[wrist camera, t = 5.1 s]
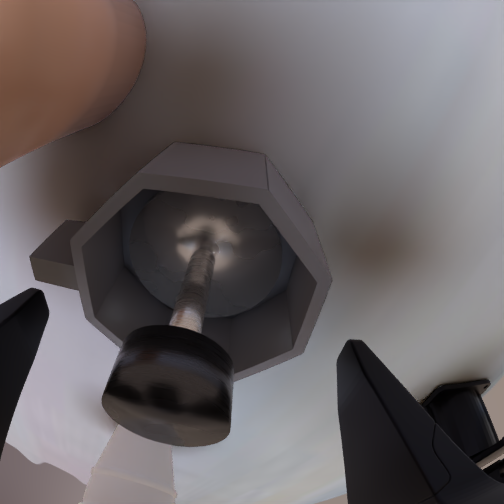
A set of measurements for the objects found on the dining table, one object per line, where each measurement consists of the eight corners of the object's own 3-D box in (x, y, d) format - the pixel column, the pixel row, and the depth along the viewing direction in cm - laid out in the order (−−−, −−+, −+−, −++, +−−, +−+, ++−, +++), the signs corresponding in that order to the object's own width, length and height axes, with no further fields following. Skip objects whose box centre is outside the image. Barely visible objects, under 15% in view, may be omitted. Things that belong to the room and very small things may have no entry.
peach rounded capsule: (160, -24, 7) (72, -94, 2) (136, 133, 10) (32, 196, 5) (28, 0, 6) (-81, -4, 1) (16, 132, 9) (-89, 186, 4)
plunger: (296, 193, 10) (342, 358, 4) (265, 316, 13) (268, 471, 7) (134, 170, 10) (8, 299, 4) (137, 296, 13) (81, 437, 7)
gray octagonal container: (327, 166, 10) (357, 206, 7) (282, 325, 14) (287, 388, 11) (69, 136, 10) (10, 164, 7) (85, 292, 14) (54, 345, 10)
